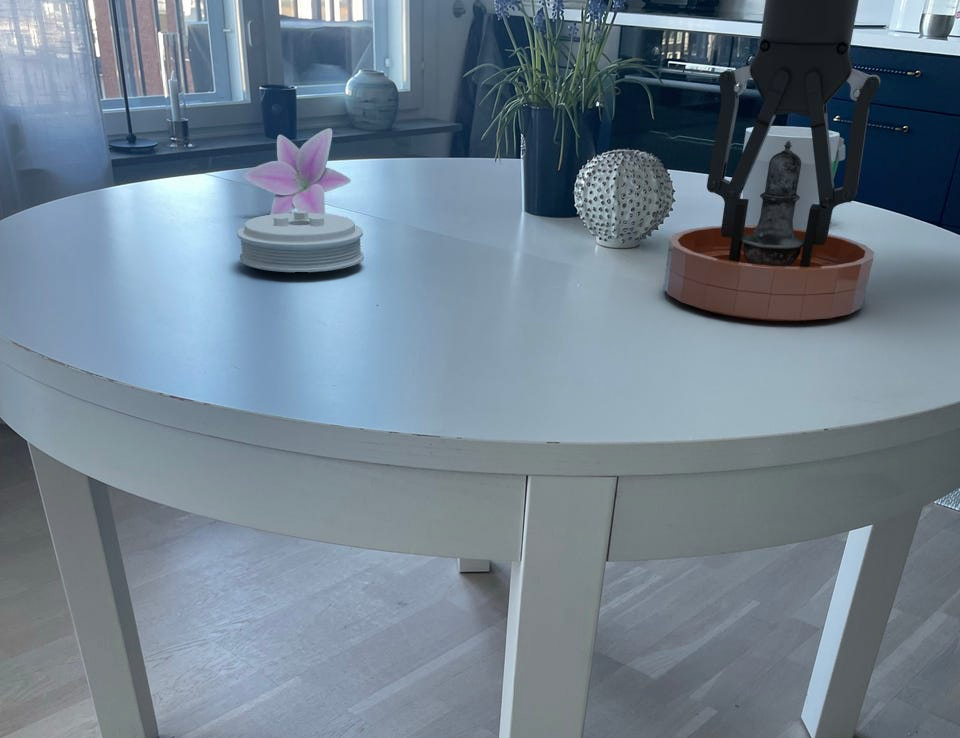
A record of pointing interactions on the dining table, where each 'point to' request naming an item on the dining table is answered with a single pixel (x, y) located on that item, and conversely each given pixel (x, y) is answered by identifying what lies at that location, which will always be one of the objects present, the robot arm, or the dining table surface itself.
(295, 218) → the lid
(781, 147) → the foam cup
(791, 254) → the salt shaker
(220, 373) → the dining table surface
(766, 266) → the bowl
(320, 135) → the lily
